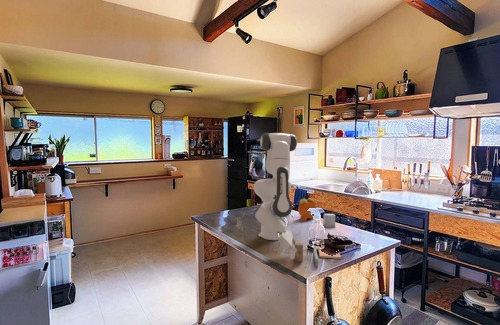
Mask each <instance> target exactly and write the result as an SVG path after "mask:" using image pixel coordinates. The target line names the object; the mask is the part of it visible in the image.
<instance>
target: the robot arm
mask: <svg viewBox="0 0 500 325" xmlns="http://www.w3.org/2000/svg"><path fill="white" fill-rule="evenodd" d="M259 143H260V148H261V149H262V150H264V151H266V152H267V153H266V154H267V155H266V159H265V160H266V162H265V170H266V171H267V173H268V174H270V175H272V178H263V179H259V180H256V181H255V182H254V184H253V191H254V193H255V194H256V195H257V196H258V197H259V198H260V199H261V201H262V203H259V205H258V206H257V207H256V209H255V211H254V216H255V218H256V220H257V221H258V222H259V223H260V224H261V226H260V233H258V237H261V238H262V239H264V240H270V241H278V242H279V244H280V245H281V246H282V247H283V248H284V249H285V250H286V251H288V250H291V251H293V252H294V254H295V253H296V252H297V249H296V248H295V242H297V241H296V240H295V238H294V237H293V235H294V234H293V232H292V231H291V229H290V228H289V227H288V226H287V225H286V223H285V222H284V221H283V220H282V219H283V218H286V217H288V216H290V214H291V213H292V211H293V203H292V201H291V199H290V192H291V190H292V184H291V181H290V179H289V175H290V168H291V167H290V166H291V152H293V151H295V150H296V148H297V146H298V139H297V136H296V135H295V134H292V133H286V132H285V133H283V132H272V133H271V132H270V133H269V132H265V133H263V134H261V137H260V141H259ZM274 196H275V198H274Z"/></svg>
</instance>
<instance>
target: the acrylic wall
mask: <svg viewBox="0 0 500 325" xmlns="http://www.w3.org/2000/svg"><path fill="white" fill-rule="evenodd" d="M317 252H318V250H317V246H316V245H313V257H314V258H313V259H314V266H315V267H316V268H318V267H319V257H318V253H317Z"/></svg>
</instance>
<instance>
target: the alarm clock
mask: <svg viewBox="0 0 500 325" xmlns="http://www.w3.org/2000/svg"><path fill="white" fill-rule="evenodd" d="M314 203H315V200H314V199H313V198H311V197H308V198H307V199H306V198H302V199H300V200H299V205H298V208H297V211H298V214H299V215H300V217H299V220H301V221H303V222H304V221H306V220H307V219H310V220H314V219H313V218H314V215H313V216H312V215H311V214H310V212H309V211H307V210H308V209H309V208H315V209H316V206H315V204H314Z"/></svg>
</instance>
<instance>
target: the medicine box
mask: <svg viewBox="0 0 500 325" xmlns="http://www.w3.org/2000/svg"><path fill="white" fill-rule="evenodd" d="M322 215H323V218H322V219H323V221H322V222H323V224H322V225H323V226H324V227H325V228H326V227H336V215H335V214H334V213H323V214H322Z"/></svg>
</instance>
